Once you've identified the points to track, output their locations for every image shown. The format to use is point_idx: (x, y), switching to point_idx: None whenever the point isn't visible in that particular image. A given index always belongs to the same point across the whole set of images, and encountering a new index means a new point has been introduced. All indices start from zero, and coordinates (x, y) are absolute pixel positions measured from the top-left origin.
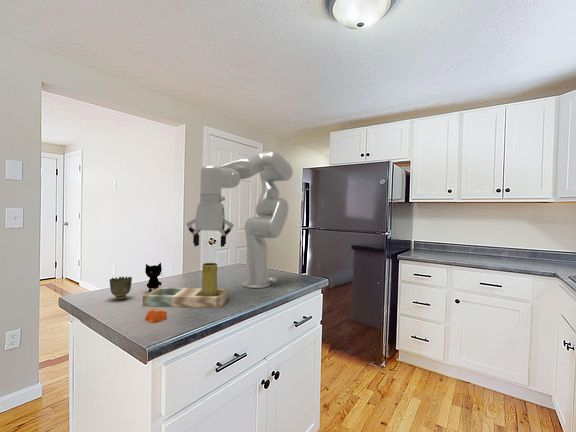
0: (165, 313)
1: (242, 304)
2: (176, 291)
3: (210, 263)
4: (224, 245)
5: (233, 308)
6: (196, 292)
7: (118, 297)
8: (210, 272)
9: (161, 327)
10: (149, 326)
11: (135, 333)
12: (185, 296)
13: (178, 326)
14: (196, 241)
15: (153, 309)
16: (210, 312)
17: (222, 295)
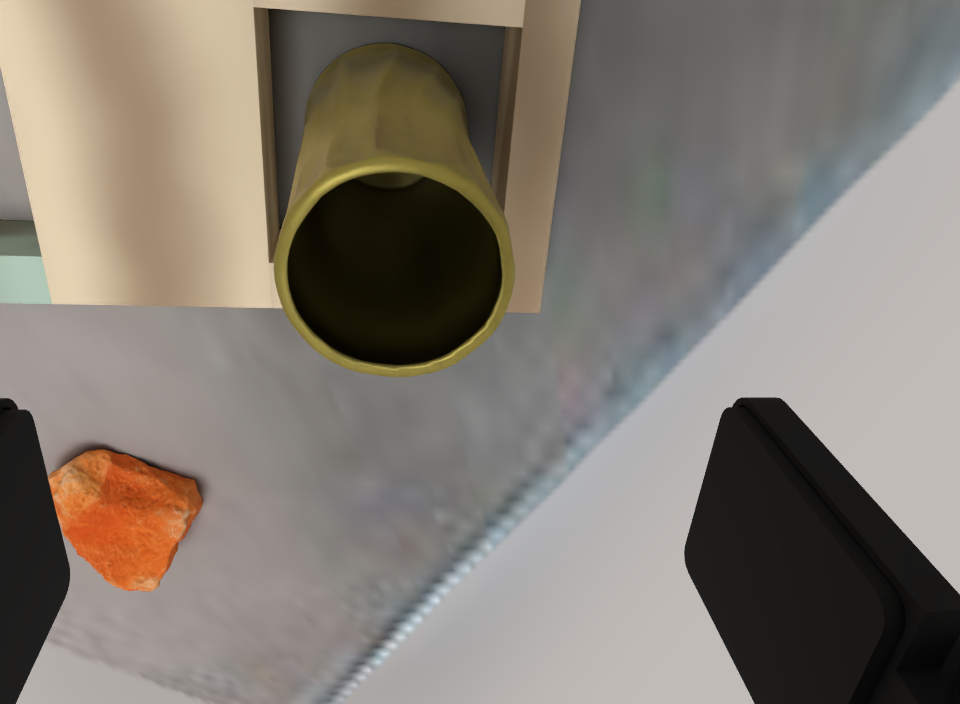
0: (191, 518)
1: (690, 181)
2: None
3: (377, 170)
4: (777, 401)
5: (618, 282)
6: (238, 140)
7: None
8: (426, 320)
9: (246, 589)
10: (170, 585)
11: (155, 653)
12: (189, 286)
13: (334, 572)
14: (23, 679)
15: (79, 510)
16: (459, 370)
17: (537, 238)
